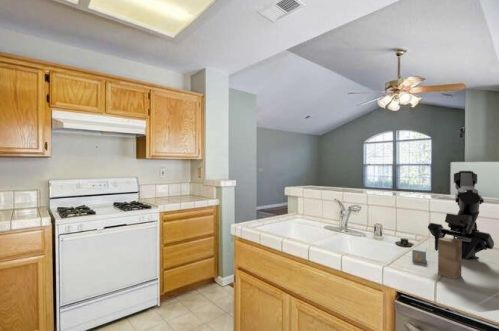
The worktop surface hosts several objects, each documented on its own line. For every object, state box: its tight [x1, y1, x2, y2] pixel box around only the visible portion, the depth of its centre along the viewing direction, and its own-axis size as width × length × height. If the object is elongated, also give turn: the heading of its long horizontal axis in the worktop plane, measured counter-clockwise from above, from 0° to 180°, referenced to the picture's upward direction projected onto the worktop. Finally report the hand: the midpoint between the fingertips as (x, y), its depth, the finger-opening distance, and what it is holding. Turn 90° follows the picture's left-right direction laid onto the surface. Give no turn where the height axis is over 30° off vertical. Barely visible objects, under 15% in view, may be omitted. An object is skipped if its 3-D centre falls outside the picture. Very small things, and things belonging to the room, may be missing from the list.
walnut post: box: [437, 236, 463, 280], centre depth 94 cm, size 5×5×12 cm
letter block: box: [411, 246, 427, 264], centre depth 108 cm, size 5×4×4 cm
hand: (450, 253), depth 94 cm, fingers open, 9 cm apart
